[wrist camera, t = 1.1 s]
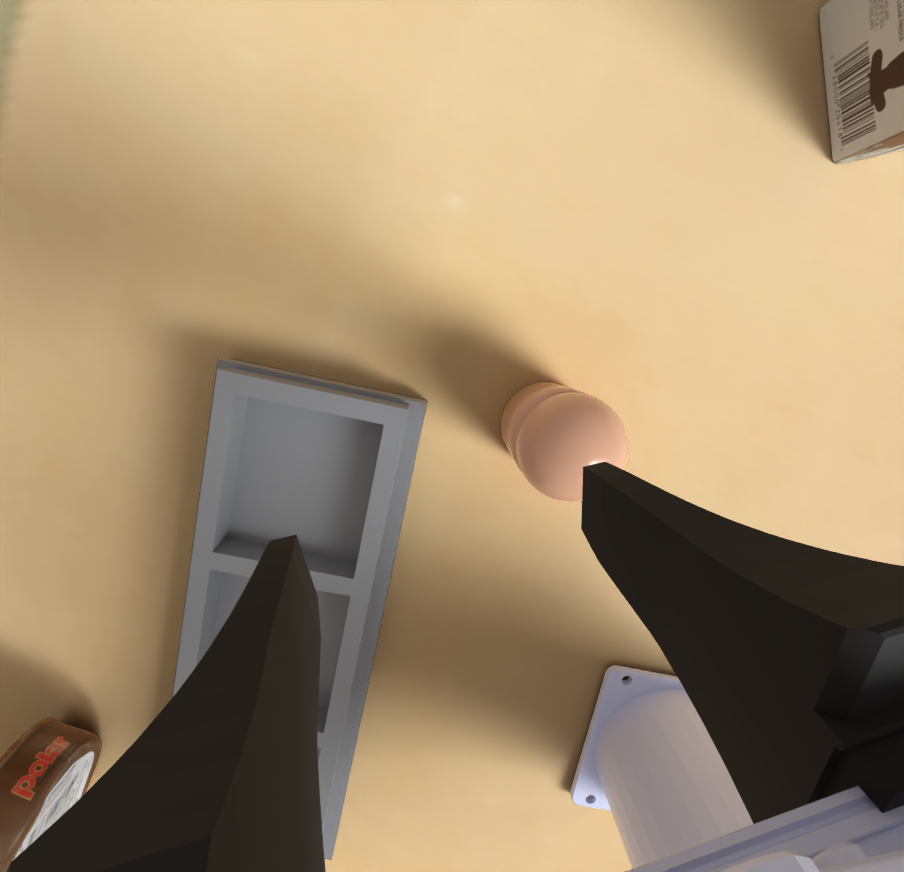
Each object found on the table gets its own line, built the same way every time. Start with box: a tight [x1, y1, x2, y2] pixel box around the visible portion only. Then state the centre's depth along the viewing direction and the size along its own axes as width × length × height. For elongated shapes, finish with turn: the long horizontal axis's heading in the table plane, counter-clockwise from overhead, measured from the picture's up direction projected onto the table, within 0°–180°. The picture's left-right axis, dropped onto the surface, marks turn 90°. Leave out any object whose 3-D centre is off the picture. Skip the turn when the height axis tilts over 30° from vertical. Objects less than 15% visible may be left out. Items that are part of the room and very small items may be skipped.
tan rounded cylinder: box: [501, 382, 628, 502], centre depth 20 cm, size 4×4×7 cm
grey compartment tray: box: [172, 359, 427, 860], centre depth 24 cm, size 9×24×3 cm, turn 168°
